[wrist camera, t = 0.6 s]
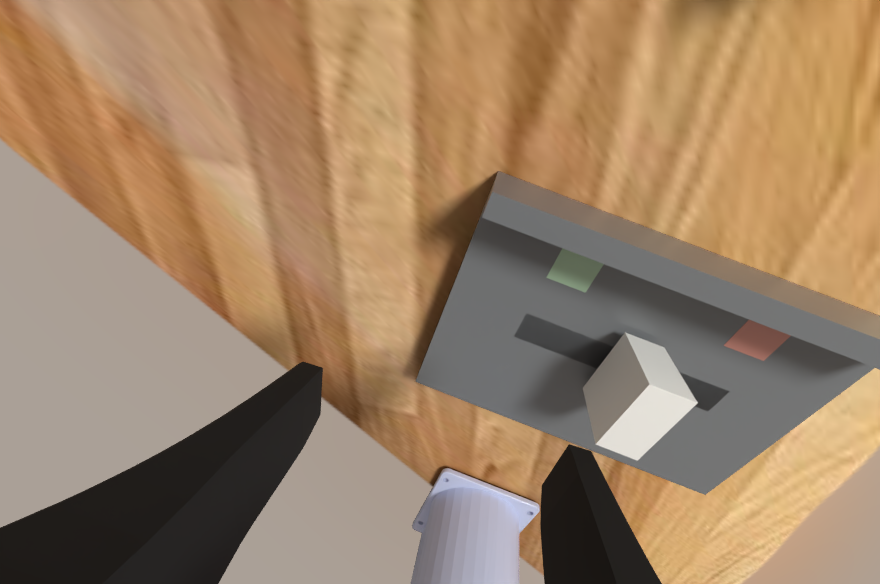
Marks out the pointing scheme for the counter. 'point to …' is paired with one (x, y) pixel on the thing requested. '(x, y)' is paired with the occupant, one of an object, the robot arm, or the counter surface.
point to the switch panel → (637, 332)
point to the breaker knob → (635, 397)
